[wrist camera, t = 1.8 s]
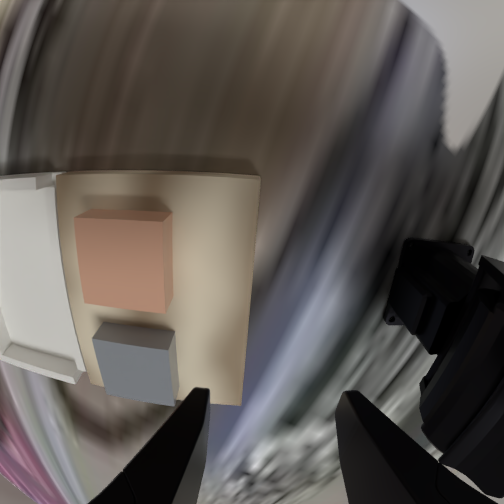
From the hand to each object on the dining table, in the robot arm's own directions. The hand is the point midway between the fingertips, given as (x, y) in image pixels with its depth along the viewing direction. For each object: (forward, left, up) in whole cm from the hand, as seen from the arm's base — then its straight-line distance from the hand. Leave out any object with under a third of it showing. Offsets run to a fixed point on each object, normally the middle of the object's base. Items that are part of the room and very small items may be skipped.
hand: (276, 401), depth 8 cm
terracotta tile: (+7, 0, -10) cm, 12 cm away
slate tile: (+7, +8, -10) cm, 15 cm away
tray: (+18, +4, -12) cm, 22 cm away
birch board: (+6, +4, -12) cm, 14 cm away
